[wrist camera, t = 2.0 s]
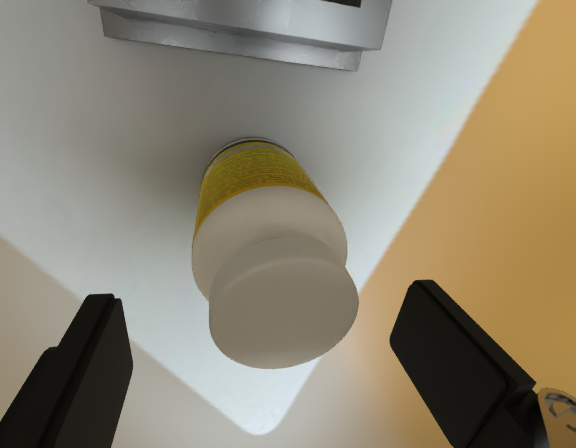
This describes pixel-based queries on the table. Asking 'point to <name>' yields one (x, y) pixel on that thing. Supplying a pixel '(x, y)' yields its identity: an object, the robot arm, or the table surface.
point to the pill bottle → (270, 258)
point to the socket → (255, 27)
